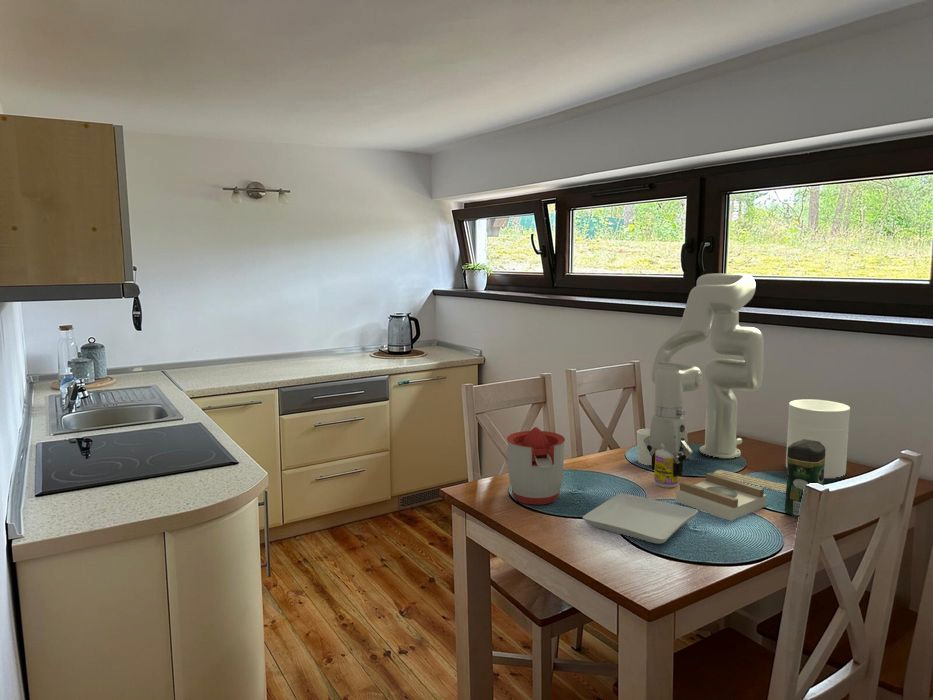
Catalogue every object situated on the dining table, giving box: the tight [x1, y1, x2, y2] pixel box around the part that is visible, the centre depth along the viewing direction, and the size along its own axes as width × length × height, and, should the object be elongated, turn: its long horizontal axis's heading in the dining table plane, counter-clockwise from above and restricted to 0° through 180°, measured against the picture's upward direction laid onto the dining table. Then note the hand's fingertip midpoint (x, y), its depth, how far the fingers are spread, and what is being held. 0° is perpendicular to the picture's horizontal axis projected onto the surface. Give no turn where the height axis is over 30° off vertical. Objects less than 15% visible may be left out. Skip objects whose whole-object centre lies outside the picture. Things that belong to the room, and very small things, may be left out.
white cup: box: [636, 428, 652, 466], centre depth 201 cm, size 8×8×10 cm
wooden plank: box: [712, 469, 786, 492], centre depth 182 cm, size 24×7×2 cm, turn 44°
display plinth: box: [675, 472, 767, 522], centre depth 167 cm, size 16×16×5 cm
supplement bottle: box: [653, 443, 680, 489], centre depth 181 cm, size 7×7×13 cm
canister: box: [785, 398, 851, 479], centre depth 191 cm, size 16×16×20 cm
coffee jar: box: [784, 439, 825, 519], centre depth 159 cm, size 10×8×19 cm
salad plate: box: [582, 492, 699, 544], centre depth 155 cm, size 21×21×3 cm
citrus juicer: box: [506, 426, 566, 505], centre depth 172 cm, size 16×17×20 cm
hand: (666, 471), depth 182 cm, fingers open, 6 cm apart
